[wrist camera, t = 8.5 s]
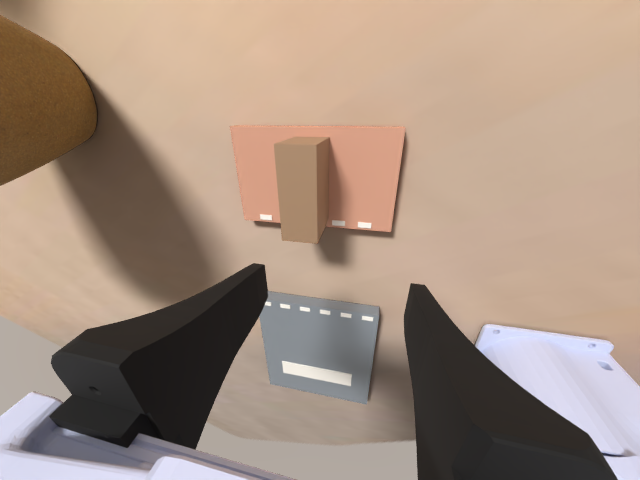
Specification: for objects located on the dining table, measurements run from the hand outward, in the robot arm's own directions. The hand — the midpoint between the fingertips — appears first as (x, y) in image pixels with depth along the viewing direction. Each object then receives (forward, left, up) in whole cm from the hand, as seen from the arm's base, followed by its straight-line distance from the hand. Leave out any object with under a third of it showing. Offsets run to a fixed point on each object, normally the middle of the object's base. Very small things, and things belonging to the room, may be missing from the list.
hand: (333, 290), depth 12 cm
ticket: (+3, +16, -9) cm, 19 cm away
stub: (+3, -3, -9) cm, 10 cm away
